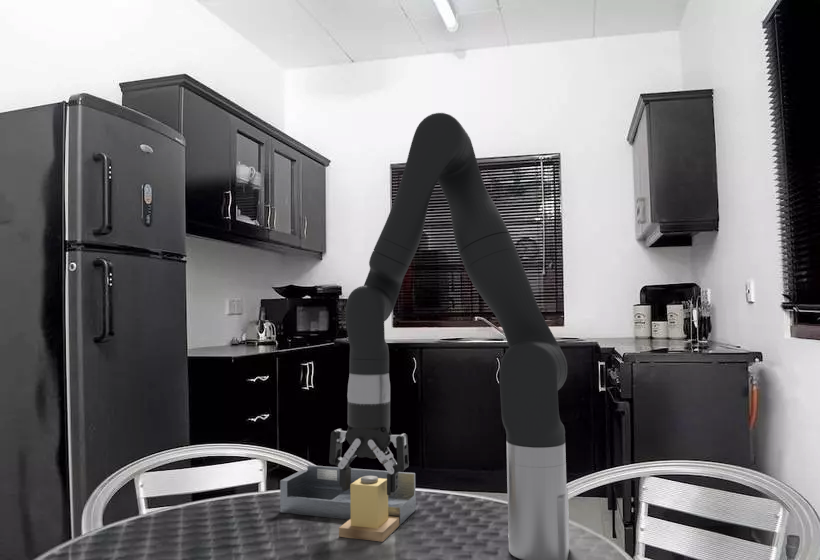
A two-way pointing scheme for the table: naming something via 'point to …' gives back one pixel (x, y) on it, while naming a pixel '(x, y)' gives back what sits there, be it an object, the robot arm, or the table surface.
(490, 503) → the table surface
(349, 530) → the pad
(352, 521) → the yellow block with dome
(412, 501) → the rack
